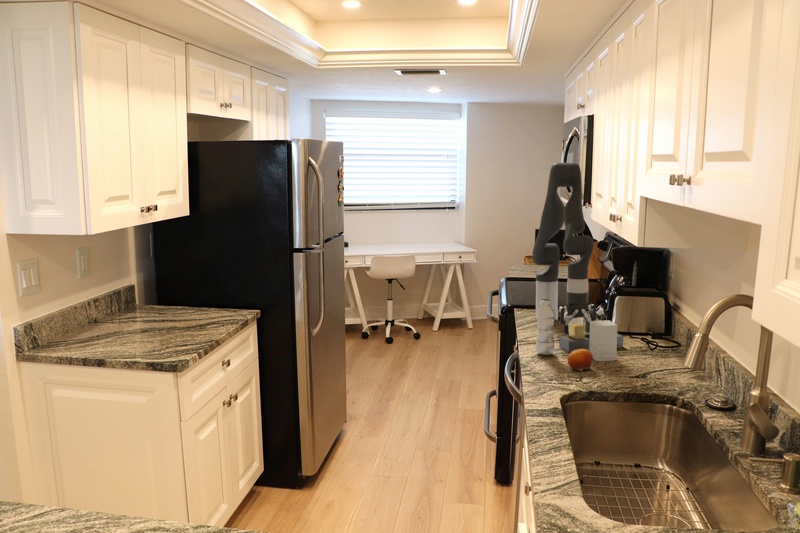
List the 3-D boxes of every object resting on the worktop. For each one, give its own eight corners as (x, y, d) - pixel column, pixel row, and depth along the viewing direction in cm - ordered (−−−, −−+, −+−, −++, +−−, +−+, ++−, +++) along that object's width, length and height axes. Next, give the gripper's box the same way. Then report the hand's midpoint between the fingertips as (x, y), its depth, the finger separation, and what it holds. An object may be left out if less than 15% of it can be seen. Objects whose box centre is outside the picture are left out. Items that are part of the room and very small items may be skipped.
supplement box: (617, 360, 220) (618, 325, 218) (596, 361, 220) (596, 326, 217) (608, 354, 227) (609, 319, 225) (588, 355, 227) (589, 320, 225)
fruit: (583, 371, 206) (575, 347, 208) (568, 377, 212) (560, 354, 215) (602, 367, 209) (593, 344, 212) (587, 373, 216) (578, 350, 218)
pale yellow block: (569, 344, 237) (569, 323, 235) (578, 343, 237) (579, 322, 236) (574, 347, 233) (574, 326, 231) (584, 346, 234) (584, 325, 232)
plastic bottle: (539, 350, 234) (540, 297, 230) (557, 353, 230) (558, 299, 227) (532, 355, 229) (532, 300, 225) (550, 358, 225) (551, 302, 221)
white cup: (581, 329, 261) (582, 305, 259) (585, 334, 253) (585, 309, 252) (561, 329, 262) (562, 305, 260) (564, 334, 254) (565, 309, 252)
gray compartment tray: (559, 347, 237) (559, 336, 237) (612, 341, 242) (612, 331, 242) (568, 352, 231) (568, 341, 230) (623, 346, 236) (623, 336, 235)
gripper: (590, 286, 237) (589, 329, 239) (554, 289, 234) (554, 332, 236) (600, 290, 230) (599, 334, 232) (564, 293, 226) (563, 337, 229)
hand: (576, 333), depth 234 cm, fingers open, 8 cm apart
